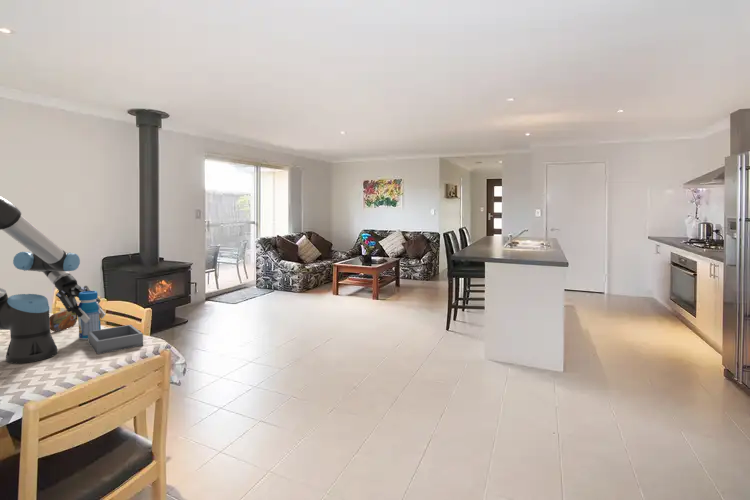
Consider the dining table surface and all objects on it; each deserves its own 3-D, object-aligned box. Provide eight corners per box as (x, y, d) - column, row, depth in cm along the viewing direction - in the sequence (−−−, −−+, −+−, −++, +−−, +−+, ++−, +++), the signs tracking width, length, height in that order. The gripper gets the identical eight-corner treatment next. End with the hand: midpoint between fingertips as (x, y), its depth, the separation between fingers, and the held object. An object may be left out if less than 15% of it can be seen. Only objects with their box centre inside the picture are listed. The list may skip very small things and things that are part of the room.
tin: (54, 333, 189) (53, 315, 188) (47, 333, 189) (46, 315, 188) (78, 324, 204) (77, 307, 203) (72, 324, 204) (71, 307, 203)
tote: (143, 345, 174) (142, 333, 173) (97, 354, 163) (97, 341, 162) (131, 335, 187) (130, 324, 186) (88, 343, 176) (87, 331, 175)
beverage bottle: (90, 340, 179) (87, 294, 177) (73, 339, 181) (71, 293, 179) (106, 335, 187) (104, 290, 185) (90, 333, 189) (88, 289, 187)
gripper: (79, 282, 195) (110, 318, 193) (35, 289, 175) (69, 330, 173) (88, 271, 193) (119, 307, 191) (45, 277, 174) (79, 318, 172)
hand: (95, 318), depth 182 cm, fingers closed on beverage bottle, 7 cm apart
